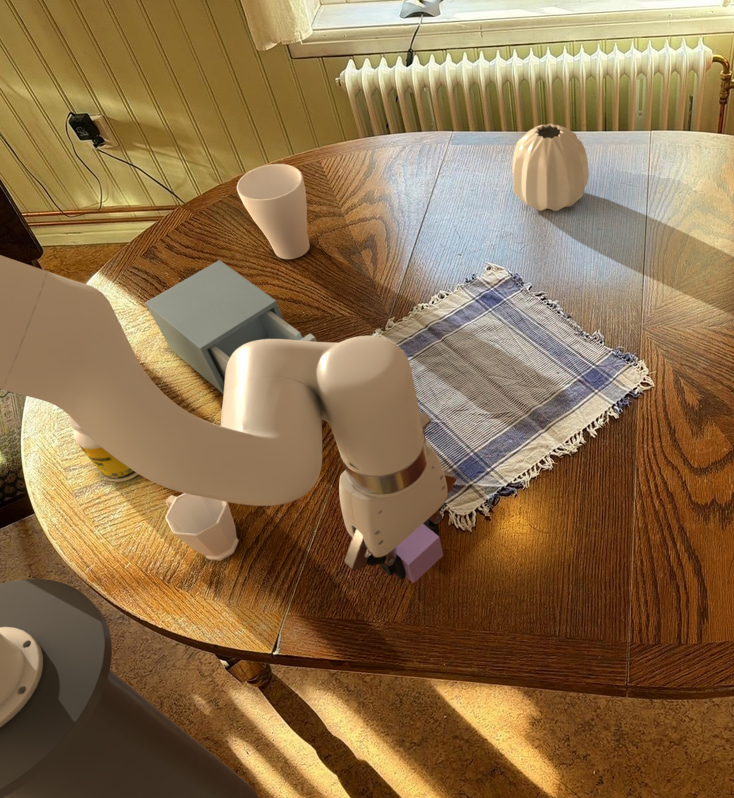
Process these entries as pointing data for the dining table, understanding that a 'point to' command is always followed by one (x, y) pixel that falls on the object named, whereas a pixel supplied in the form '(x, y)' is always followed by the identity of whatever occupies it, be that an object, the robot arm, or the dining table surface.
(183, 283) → the cabinet
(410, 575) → the cube
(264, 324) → the drawer
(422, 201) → the dining table surface
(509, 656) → the dining table surface
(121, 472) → the pill bottle
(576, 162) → the vase
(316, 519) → the dining table surface
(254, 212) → the cup
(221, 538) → the cup
